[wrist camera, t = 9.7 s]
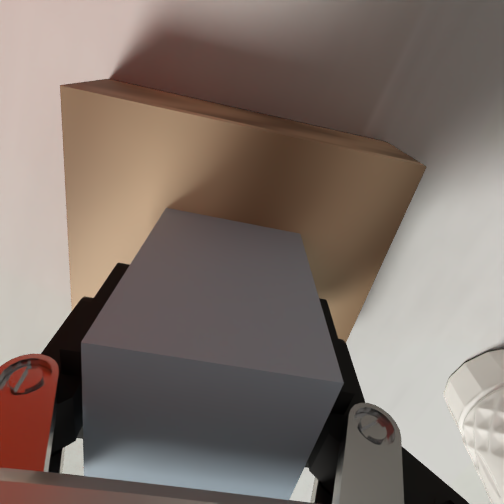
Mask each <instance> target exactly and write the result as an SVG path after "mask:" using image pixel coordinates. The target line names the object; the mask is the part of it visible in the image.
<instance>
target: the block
mask: <svg viewBox="0 0 504 504" xmlns="http://www.w3.org/2000/svg"><path fill="white" fill-rule="evenodd" d="M81 363H82V407H83V452H84V476H88V477H97V478H106V479H115V480H124V481H132V482H141V483H150V484H159V485H167V486H176V487H184V488H193V489H201V490H210V491H218V492H226V493H235V494H243V495H252V496H260V497H268V498H276V499H284V500H289V499H290V497H291V494H292V492H293V490H294V488H295V486H296V484H297V482H298V480H299V477H300V475H301V473H302V471H303V469H304V467H305V465H306V463H307V460H308V458H309V456H310V454H311V452H312V450H313V448H314V446H315V443H316V441H317V439H318V437H319V435H320V433H321V431H322V429H323V426H324V424H325V422H326V420H327V418H328V416H329V414H330V412H331V409H332V407H333V405H334V403H335V401H336V399H337V397H338V395H339V392H340V390H341V388H342V386H343V384H344V382H343V379H342V375H341V372H340V368H339V365H338V361H337V358H336V355H335V351H334V348H333V344H332V341H331V337H330V334H329V331H328V327H327V324H326V320H325V317H324V313H323V310H322V307H321V303H320V300H319V296H318V293H317V289H316V286H315V283H314V279H313V276H312V272H311V269H310V265H309V262H308V259H307V255H306V252H305V248H304V245H303V241H302V238H301V235H300V234H299V233H294V232H289V231H284V230H278V229H273V228H268V227H263V226H258V225H253V224H248V223H242V222H237V221H232V220H227V219H222V218H217V217H212V216H206V215H201V214H196V213H191V212H186V211H181V210H176V209H170V208H166V209H165V210H164V212H163V213H162V215H161V217H160V218H159V220H158V221H157V223H156V224H155V226H154V228H153V229H152V231H151V232H150V234H149V236H148V237H147V239H146V240H145V242H144V243H143V245H142V247H141V248H140V250H139V251H138V253H137V255H136V256H135V258H134V259H133V261H132V262H131V264H130V266H129V267H128V269H127V270H126V272H125V274H124V275H123V277H122V278H121V280H120V281H119V283H118V285H117V286H116V288H115V289H114V291H113V292H112V294H111V296H110V297H109V299H108V300H107V302H106V304H105V305H104V307H103V308H102V310H101V311H100V313H99V315H98V316H97V318H96V319H95V321H94V323H93V324H92V326H91V327H90V329H89V330H88V332H87V334H86V335H85V337H84V338H83V340H82V341H81Z"/></svg>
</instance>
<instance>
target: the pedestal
mask: <svg viewBox="0 0 504 504" xmlns="http://www.w3.org/2000/svg"><path fill="white" fill-rule="evenodd" d="M60 93H61V112H62V131H63V151H64V170H65V189H66V208H67V227H68V246H69V265H70V284H71V303H72V310H73V309H74V308H75V306H76V305H77V304H78V302H79V301H80V300H81V299H82V297H85V296H86V297H92V298H94V297H95V295H96V294H97V292H98V291H99V289H100V288H101V286H102V285H103V283H104V282H105V280H106V279H107V277H108V276H109V274H110V273H111V271H112V270H113V268H114V267H115V266H116V264H117V263H124V264H129V265H130V264H131V262H132V261H133V259H134V258H135V256H136V255H137V253H138V251H139V250H140V248H141V247H142V245H143V243H144V242H145V240H146V239H147V237H148V236H149V234H150V232H151V231H152V229H153V228H154V226H155V224H156V223H157V221H158V220H159V218H160V217H161V215H162V213H163V212H164V210H165V209H166V208H170V209H176V210H181V211H186V212H191V213H196V214H201V215H206V216H212V217H217V218H222V219H227V220H232V221H237V222H242V223H248V224H253V225H258V226H263V227H268V228H273V229H278V230H284V231H289V232H294V233H299V234H300V235H301V238H302V241H303V245H304V248H305V252H306V255H307V259H308V262H309V265H310V269H311V272H312V276H313V279H314V283H315V286H316V289H317V293H318V296H319V298H321V299H326V300H327V303H328V306H329V309H330V313H331V316H332V319H333V322H334V326H335V329H336V332H337V336H338V339H343V340H344V341H345V343H346V341H347V339H348V337H349V335H350V332H351V330H352V328H353V326H354V324H355V321H356V319H357V317H358V315H359V313H360V311H361V308H362V306H363V304H364V302H365V300H366V298H367V295H368V293H369V291H370V289H371V287H372V284H373V282H374V280H375V278H376V276H377V274H378V271H379V269H380V267H381V265H382V263H383V261H384V258H385V256H386V254H387V252H388V250H389V247H390V245H391V243H392V241H393V239H394V237H395V234H396V232H397V230H398V228H399V226H400V223H401V221H402V219H403V217H404V215H405V213H406V210H407V208H408V206H409V204H410V202H411V200H412V197H413V195H414V193H415V191H416V189H417V186H418V184H419V182H420V180H421V178H422V176H423V173H424V171H425V169H426V166H425V165H423V164H421V163H420V162H418V161H417V160H415V159H413V158H412V157H410V156H409V155H407V154H405V153H404V152H402V151H400V150H399V149H397V148H396V147H394V146H392V145H391V144H389V143H388V142H384V141H380V140H376V139H371V138H367V137H362V136H358V135H354V134H349V133H345V132H340V131H336V130H332V129H327V128H323V127H318V126H314V125H310V124H305V123H301V122H296V121H292V120H287V119H283V118H279V117H274V116H270V115H265V114H261V113H257V112H252V111H248V110H243V109H239V108H235V107H230V106H226V105H221V104H217V103H213V102H208V101H204V100H199V99H195V98H190V97H186V96H182V95H177V94H173V93H168V92H164V91H160V90H155V89H151V88H146V87H142V86H138V85H133V84H129V83H124V82H120V81H115V80H111V79H103V80H96V81H89V82H81V83H74V84H66V85H60Z"/></svg>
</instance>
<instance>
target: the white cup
mask: <svg viewBox="0 0 504 504" xmlns="http://www.w3.org/2000/svg"><path fill="white" fill-rule="evenodd" d="M444 398H445V401H446V403H447V406H448V408H449V411H450V413H451V415H452V417H453V419H454V421H455V422H456V424H457V426H458V428H459V430H460V433H461V435H462V440H463V443H464V445H465V447H466V449H467V451H468V453H469V455H470V457H471V459H472V462H473V464H474V467H475V469H476V471H477V473H478V475H479V477H480V478H481V480H482V482H483V484H484V486H485V489H486V492H487V495H488V497H489V499H490V501H491V503H492V504H504V349H500V350H495V351H490V352H486V353H484V354H482V355H480V356H478V357H476V358H474V359H472V360H470V361H468V362H466V363H464V364H463V365H462V366H461V367H460V368H459V369H458V370H457V371H456V372H455V373H454V374H453V375H452V376H451V377H450V378H449V379H448V382H447V385H446V388H445V391H444Z"/></svg>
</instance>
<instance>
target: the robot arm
mask: <svg viewBox="0 0 504 504" xmlns="http://www.w3.org/2000/svg"><path fill="white" fill-rule="evenodd" d="M129 266H130V265H129V264H124V263H117V264H116V266H115V267H114V268H113V270H112V271H111V273H110V274H109V276H108V277H107V279H106V280H105V282H104V283H103V285H102V286H101V288H100V289H99V291H98V292H97V294H96V295H95V297H94V298H92V297H86V296H85V297H82V299H81V300H80V301H79V302H78V304H77V305H76V306H75V308H74V309H73V310H72V312H71V313H70V315H69V316H68V317H67V319H66V320H65V321H64V323H63V324H62V326H61V327H60V328H59V330H58V331H57V333H56V334H55V335H54V337H53V338H52V339H51V341H50V342H49V344H48V345H47V346H46V348H45V349H44V350H43V352H42V353H41V354H28V355H23V356H19V357H17V358H14V359H11V360H10V361H8V362H6V363H5V364H3V365H2V366H1V367H0V504H469V503H468V502H467V501H466V500H465V499H464V498H462V497H461V496H460V495H459V494H458V493H456V492H455V491H454V490H453V489H452V488H451V487H449V486H448V485H447V484H446V483H445V482H443V481H442V480H441V479H440V478H439V477H437V476H436V475H435V474H434V473H433V472H432V471H430V470H429V469H428V468H427V467H426V466H424V465H423V464H422V463H421V462H420V461H418V460H417V459H416V458H415V457H414V456H413V455H411V454H410V453H409V452H408V451H407V450H405V449H404V448H403V447H402V445H401V434H400V430H399V428H398V426H397V424H396V422H395V421H394V420H393V418H392V417H391V416H390V415H389V414H388V413H387V412H385V411H384V410H383V409H381V408H379V407H378V406H376V405H373V404H370V403H365V400H364V397H363V394H362V391H361V388H360V385H359V382H358V379H357V376H356V373H355V370H354V367H353V363H352V360H351V357H350V354H349V351H348V348H347V345H346V343H345V341H344V340H343V339H338V336H337V332H336V329H335V326H334V322H333V319H332V316H331V313H330V309H329V306H328V303H327V300H326V299H321V298H319V300H320V303H321V307H322V310H323V313H324V317H325V320H326V324H327V327H328V331H329V334H330V337H331V341H332V344H333V348H334V351H335V355H336V358H337V361H338V365H339V368H340V372H341V375H342V379H343V382H344V384H343V386H342V388H341V390H340V392H339V395H338V397H337V399H336V401H335V403H334V405H333V407H332V409H331V412H330V414H329V416H328V418H327V420H326V422H325V424H324V426H323V429H322V431H321V433H320V435H319V437H318V439H317V441H316V443H315V446H314V448H313V450H312V452H311V454H310V456H309V458H308V460H307V463H306V465H305V467H308V468H309V471H310V472H311V473H312V474H313V475H314V476H315V480H314V485H313V491H312V496H311V502H310V503H308V502H300V501H292V500H284V499H276V498H268V497H260V496H252V495H243V494H235V493H226V492H218V491H210V490H201V489H193V488H184V487H176V486H167V485H159V484H150V483H141V482H132V481H124V480H115V479H106V478H97V477H88V476H79V475H70V474H62V470H63V461H64V452H65V446H67V445H69V444H71V443H72V442H74V441H76V438H82V439H83V407H82V363H81V341H82V340H83V338H84V337H85V335H86V334H87V332H88V330H89V329H90V327H91V326H92V324H93V323H94V321H95V319H96V318H97V316H98V315H99V313H100V311H101V310H102V308H103V307H104V305H105V304H106V302H107V300H108V299H109V297H110V296H111V294H112V292H113V291H114V289H115V288H116V286H117V285H118V283H119V281H120V280H121V278H122V277H123V275H124V274H125V272H126V270H127V269H128V267H129Z"/></svg>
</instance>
